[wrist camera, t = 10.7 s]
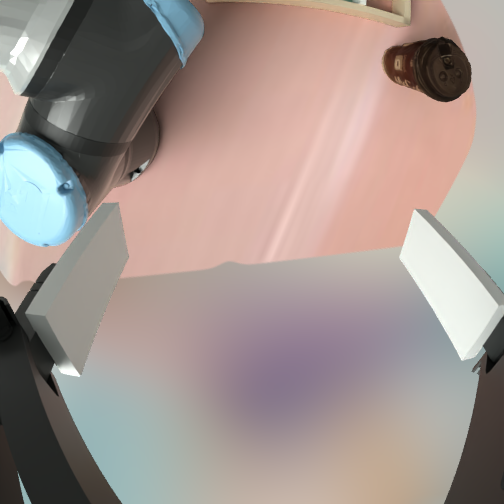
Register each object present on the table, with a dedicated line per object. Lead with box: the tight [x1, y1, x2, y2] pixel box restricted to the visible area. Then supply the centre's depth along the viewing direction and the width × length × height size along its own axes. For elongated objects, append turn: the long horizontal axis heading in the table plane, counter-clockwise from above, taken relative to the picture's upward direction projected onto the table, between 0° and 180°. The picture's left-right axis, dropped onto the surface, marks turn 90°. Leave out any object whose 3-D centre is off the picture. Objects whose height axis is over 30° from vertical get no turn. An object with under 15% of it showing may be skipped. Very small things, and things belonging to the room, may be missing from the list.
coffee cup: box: [382, 37, 472, 102], centre depth 29 cm, size 9×8×13 cm
